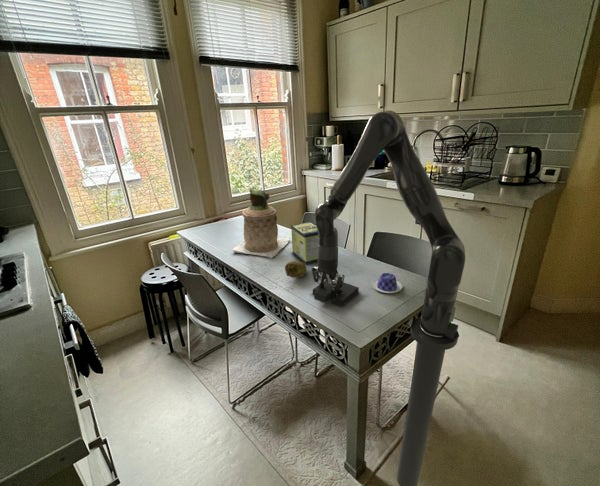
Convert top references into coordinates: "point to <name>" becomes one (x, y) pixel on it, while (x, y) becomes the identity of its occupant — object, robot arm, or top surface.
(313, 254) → the protein box
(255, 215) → the cookie jar
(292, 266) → the potato
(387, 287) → the pudding
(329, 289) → the black rectangular block
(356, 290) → the base pad
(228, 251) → the top surface
